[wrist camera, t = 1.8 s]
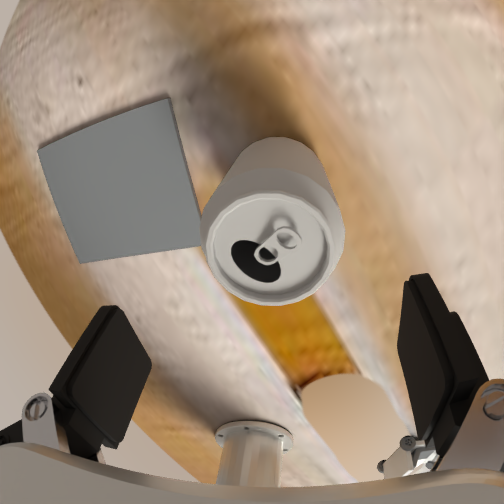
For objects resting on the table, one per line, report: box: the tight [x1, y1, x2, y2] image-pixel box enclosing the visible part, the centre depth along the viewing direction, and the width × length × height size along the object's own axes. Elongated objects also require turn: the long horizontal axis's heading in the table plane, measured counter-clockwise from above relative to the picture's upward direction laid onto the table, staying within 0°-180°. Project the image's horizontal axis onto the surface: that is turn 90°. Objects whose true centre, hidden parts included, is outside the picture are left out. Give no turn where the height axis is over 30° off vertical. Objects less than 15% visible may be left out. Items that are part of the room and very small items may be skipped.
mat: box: [37, 98, 202, 264], centre depth 27 cm, size 13×15×1 cm
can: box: [199, 137, 345, 306], centre depth 20 cm, size 8×8×12 cm
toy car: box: [377, 435, 439, 479], centre depth 42 cm, size 18×10×12 cm
